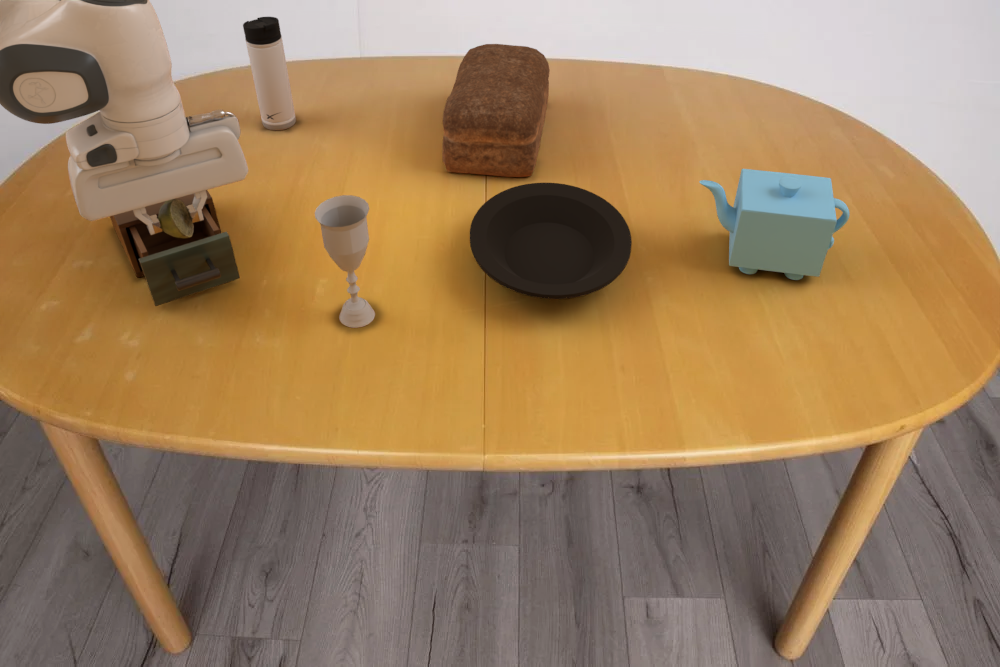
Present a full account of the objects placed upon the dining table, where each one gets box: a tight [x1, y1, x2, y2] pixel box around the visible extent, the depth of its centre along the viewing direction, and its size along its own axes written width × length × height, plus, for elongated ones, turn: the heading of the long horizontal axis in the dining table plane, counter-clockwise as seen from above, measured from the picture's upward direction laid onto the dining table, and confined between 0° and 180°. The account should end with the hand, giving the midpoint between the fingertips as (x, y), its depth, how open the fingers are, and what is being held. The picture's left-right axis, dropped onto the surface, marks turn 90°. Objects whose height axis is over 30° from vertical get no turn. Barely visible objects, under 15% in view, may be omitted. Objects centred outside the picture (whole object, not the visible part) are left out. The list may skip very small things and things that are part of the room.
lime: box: [158, 199, 194, 238], centre depth 110 cm, size 4×5×5 cm
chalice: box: [314, 194, 376, 329], centre depth 118 cm, size 7×7×18 cm
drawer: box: [127, 205, 241, 307], centre depth 127 cm, size 18×12×8 cm
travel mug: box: [242, 16, 297, 131], centre depth 158 cm, size 6×7×20 cm
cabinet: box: [109, 190, 222, 278], centre depth 135 cm, size 15×14×10 cm
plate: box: [469, 182, 633, 300], centre depth 131 cm, size 28×24×6 cm
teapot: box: [699, 168, 851, 281], centre depth 130 cm, size 22×11×14 cm, turn 78°
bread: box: [441, 43, 551, 178], centre depth 157 cm, size 17×30×13 cm, turn 172°
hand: (176, 225), depth 110 cm, fingers closed on lime, 4 cm apart
